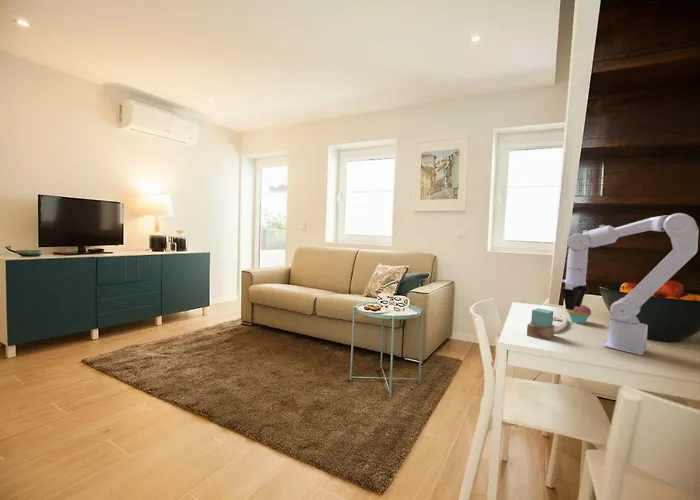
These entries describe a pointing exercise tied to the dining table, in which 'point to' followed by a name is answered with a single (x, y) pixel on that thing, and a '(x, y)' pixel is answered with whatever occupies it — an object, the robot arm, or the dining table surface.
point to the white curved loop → (562, 326)
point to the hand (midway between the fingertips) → (573, 307)
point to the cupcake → (579, 314)
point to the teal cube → (542, 317)
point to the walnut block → (540, 331)
